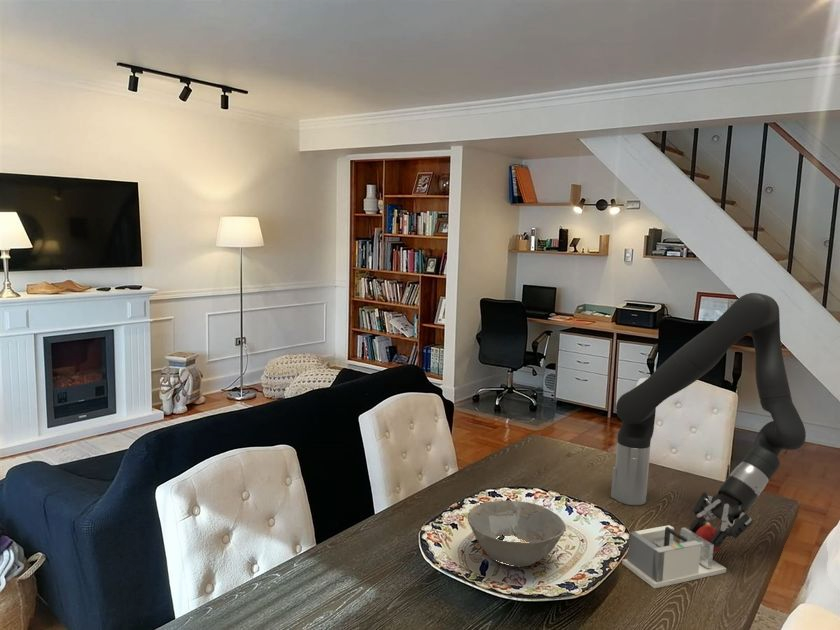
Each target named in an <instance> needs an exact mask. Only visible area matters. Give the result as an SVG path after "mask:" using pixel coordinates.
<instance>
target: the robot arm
mask: <svg viewBox="0 0 840 630" xmlns="http://www.w3.org/2000/svg"><path fill="white" fill-rule="evenodd" d="M780 318H781V317H780V307H779V304H778V303H777V301H776V300H775V299H774V298H773V297H772V296H769V295H767V294H763V293H758V292H749V293H746V294H744V295H742V296H740V297H739V298H737V299H736V300H735V301H734V303H732V305H730V306H729V307H728V308H727V310H726V311H725V312H723V314H721V315H720V317H719V318H718V319H716V320H715V321H714V322H713V323H712V324H711V325H709V326H708V327H707V328H705V329H704V330H703V331H701V332H700V333H698V334H697V335H695V336H694V337H693V338H692V339H691V340H689V341H687V342H686V343H685V344H684V345H683V346H682V347H680V348H679V349H678V350H676V351H675V352H674V353H673V354H672V355H670V356H669V357H668V358H667V359H666V360H665V361H664V362H663V363H661V365H660V366H659V367H658V368H657V369H656V370H655V371H654V372H653V373H652V374H651V375H650V376H649V377H648V378H646V379H645V380H644V381H642V382H641V383H639V384H638V385H637V386H635V387H634V388H632V389H630V390H629V391H626V392H625V393H623V394H622V395H621V396H620V397H619V398H618V400H617V402H616V405H615V406H616V407H615V412H616V415H617V418H619V419H620V421H621V422H622V423H621V425H620V428H619V431H618V433H617V439H616V440H617V441H616V443H617V444H616V454H615V465H614V466H613V467H612V476H611V487H610V488H611V489H610V498H612V499H614V500H616V501H617V502H619V503H621V504H624V505H629V506H641V505H644V504H645V503H646V502H647V496H648V495H647V491H648V480H649V479H648V478H649V467H650V455H651V454H650V452H651V441H652V438H653V435H654V431H655V421H656V411H657V407H658V406H659V405H660V404H661V403H663V402H664V401H666V400H667V399H668V398H671V397H672V396H674V395H675V394H677V393H679V392H681V391H682V390H683V389H686V388H688V387H689V386H691V384H693V383H695V382H697V381H698V380H699V379H700V378H702V377H703V376H705V375H706V374H707V373H708V372H709V371H711V370H712V369H713V368H714V367H715V366H716V365H717V364H718V363H719V362H720V360H721V359H723V357H724V356H725V354H726V353H727V351H728V350H729V349H730V348H731V347H732V346H733V345H734V344H735V343H737V342H738V341H739V340H742V339H743V338H744V337H745V336H747V335H749V334H751V338H752V341H753V346H754V347H753V348H754V353H755V355H754V356H755V365H754V366H755V372H754V373H755V380H756V381H755V382H756V388H757V393H758V398H759V402H760V405H761V407H762V409H763V410H764V411H766V412H768V413H769V414H770V416H771V418H772V421H769V422H767V423H766V424H765V425H763V426H762V428H761V429H760V430H759V432H758V433H757V435H756V437H755V440H754V443H753V445H752V448H751V450H750V451H749V452H748V453H747V454H746V456H745V457H744V458H743V459H742V461H740V463H739V464H738V465H737V466H735V468H734V469H733V470H732V471H731V472H730V473H729V477H728V478H727V479H726V478H725V480H726V481H725V480H724V482H723V483H722V484H721V485H720V487H719V488H718V492H717V494H715V495H714V496H711V495H708V494H707V492H703V493H701V495H700V497H699V498H698V501H697V502H696V504H695V505H694V507H693V509H692V512H693V513H694V514H695V519H694V520H693V522H692V523H691V524H690V525H689V529H688V530H690V531H692V532H693V533H696V531H697V530H698V529H699V528H700V527H703V526H705V524H706V523H708V522H709V521H711V520H715V519H716V518H717V519H719V520H721V526H720V529H718V530H716V531H717V533H716V534H715V535H714V537H713V538H712V539H711V540H710V543H712V544H713V545H714V547H715V548H717V547H719V546H720V545H721V546H722V544H723V543H724V541H725V540H726V539H727V538H728V537H732V538H733V539H738V538H739V537H740V536H741V535H743V533H744V532H745V531H746V530H747V529H748V528H749V527H750V526H751V525H753V523H754V520H753V519H752V518H751V517H750V516H749V514H747V513H745V512H746V511H748V510H749V509H750V508H751V506H752V505H753V504H754V502H755V501H756V500H757V499H758V497H759V496H760V494H761V493H762V492H763V490H764V489H765V488H766V487H767V484H768V482H769V481H770V480H771V478H772V477H773V476H774V474H775V473H776V472H777V470H778V469H779V467H780V466H781V465H780V464H781V461H780V459H779V457H778V456H779V455H780V452H782V451H783V450H788V451H794V450H799V449H800V448H802V447H803V446H804V444H805V441H806V437H807V435H806V427H805V425H804V423H803V420H802V419H801V416H800V414H799V411H798V410H797V408H796V406H795V404H794V403H793V398H792V393H791V388H790V385H789V384H790V383H789V379H788V376H787V371H786V366H785V361H784V356H783V349H782V342H781V341H782V340H781V327H780V326H781V324H780V323H781V322H780ZM737 519H738V520H737ZM721 546H720V547H721Z"/></svg>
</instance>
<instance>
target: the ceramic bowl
mask: <svg viewBox="0 0 840 630" xmlns="http://www.w3.org/2000/svg"><path fill="white" fill-rule="evenodd" d="M467 521H468V522H467V523H468V525H469V526H470V529H471V531H472V532H473V535H474V536H475V539H476V540H477V542H478V543H479V545H480V546H481V549H482V550H483V551H484V552H485V553H486V554H487V556H488V555H489V556H490V557H489V556H488V557H489V558H491V559H492V558H493V559H495V560H497V561H499V562H503V563H506V564H509V565H514V566H526V567H528V566H531V565H532V566H533V564H535V563H538V562H540V560H542V559H545V557H547V556H548V555H549V554H550V553H551V552H553V550H554V548H555V547H556V545H557V544H558V542H559V541H560V539H561V537H562V536H563V535H564V533H565V531H566V529H567V528H566V527H567V526H566V524H565V522H564V520H563V519H562V518H561V517H560V516H559V515H558V514H557V513H555V512H553V511H552V510H550V509H548V508H547V507H544V506H543V505H539V504H537V503H532V502H528V501H518V500H510V499H509V500H494V501H493V500H492V501H484V502H482V503H480V504H477V505H476V506H475V507H473V508H471V509H470V510H469V511H468V513H467ZM502 535H503V536H511V535H514V536H515V537H517V538H518V539H522V540H525V541H526V542H529V543H521V542H507V541H503V540H499V539H496V538H497V537H498V536H502ZM493 559H492V560H493ZM495 560H494V561H495ZM497 561H496V562H497Z"/></svg>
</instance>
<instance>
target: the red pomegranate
mask: <svg viewBox="0 0 840 630" xmlns="http://www.w3.org/2000/svg"><path fill="white" fill-rule="evenodd" d="M717 531H718V530H716V528H714V527H713V526H712V525H711V523H710V522H705V525H703V527H700V528H699V529H698V530H697V531H696V533H695V534H697V535H698V536H700V537H702V538H703V539H705V540H707V541H708V542H710V540H711V539H712V538H713V537H714V535H715V534H716V533H717ZM721 546H722V544H721V545H720V546H719V547H717V548H715V547H714V548H713V554H714V553H716V552H717V551H719V549H720V548H721Z"/></svg>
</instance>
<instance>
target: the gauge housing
mask: <svg viewBox="0 0 840 630" xmlns="http://www.w3.org/2000/svg"><path fill="white" fill-rule="evenodd" d="M665 527H669V528H670V529H672V530H674V531H675V527H673V526H671V525H669V524H667V525H662V526H658V527H657V526H656V527H651V528H646V529H641V530H636V531H635V530H634V531H630V532H628V543H627V544H628V545H630V546H629V549H628V548H627V557H626V558H624V559H622V562H621V564H622V565H623V566H625V567H626V568H628V570H630V571H631V572H632V573H634V574H635V575H636V576H637V577H639V578H640V579H641V580H643V581H644V582H646V583H647V584H648V585H650V586H651V588H653V589H655V590H656V589H658V588H663V587H667V586H672V585H677V584H680V583H686V582H689V581H694V580H698V579H703V578H709V577H712V576H716V575H721V574H725V573H727V568H726V567H725V566H723V565H722V564H721V563H719V562H717V561H716V560H714V559H712V567H711V568H707V567H705V566H704V565H702V564H701V563H699V561H700V550H701V544H700V543H699V542H697V541H690V542H685V543H680V542H679V543H678V542H676V543H677V544H672V545H670V546H665V547H660V548H658V547H657V546H655V545H654V544H653V542H655V541H660V540H664V537H665ZM670 539H672V540H673V541H674V535H673V534H671V533H670ZM628 545H627V546H628Z"/></svg>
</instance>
